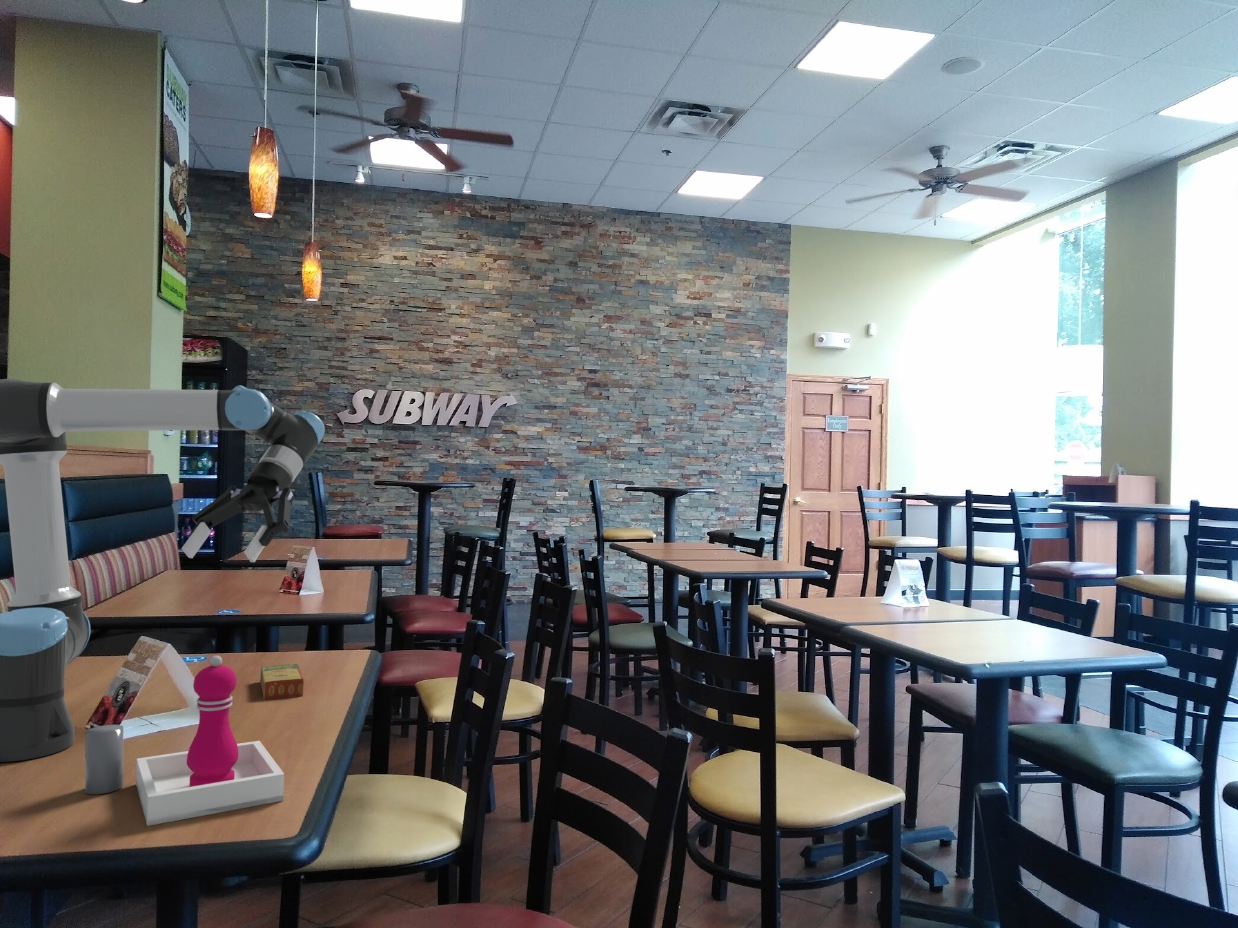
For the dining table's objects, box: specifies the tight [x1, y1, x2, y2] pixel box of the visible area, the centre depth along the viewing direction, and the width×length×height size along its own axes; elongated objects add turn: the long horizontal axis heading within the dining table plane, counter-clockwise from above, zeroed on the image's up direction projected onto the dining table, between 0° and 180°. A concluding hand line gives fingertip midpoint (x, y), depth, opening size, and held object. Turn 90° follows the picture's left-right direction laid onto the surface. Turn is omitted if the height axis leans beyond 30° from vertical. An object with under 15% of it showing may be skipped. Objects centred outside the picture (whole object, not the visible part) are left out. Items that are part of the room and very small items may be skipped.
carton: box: [259, 663, 305, 700], centre depth 190 cm, size 8×16×4 cm, turn 25°
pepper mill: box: [187, 655, 239, 787], centre depth 130 cm, size 7×7×20 cm
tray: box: [135, 740, 285, 827], centre depth 130 cm, size 18×18×4 cm
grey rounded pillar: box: [84, 724, 124, 795], centre depth 130 cm, size 5×5×9 cm
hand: (217, 555), depth 153 cm, fingers open, 13 cm apart
